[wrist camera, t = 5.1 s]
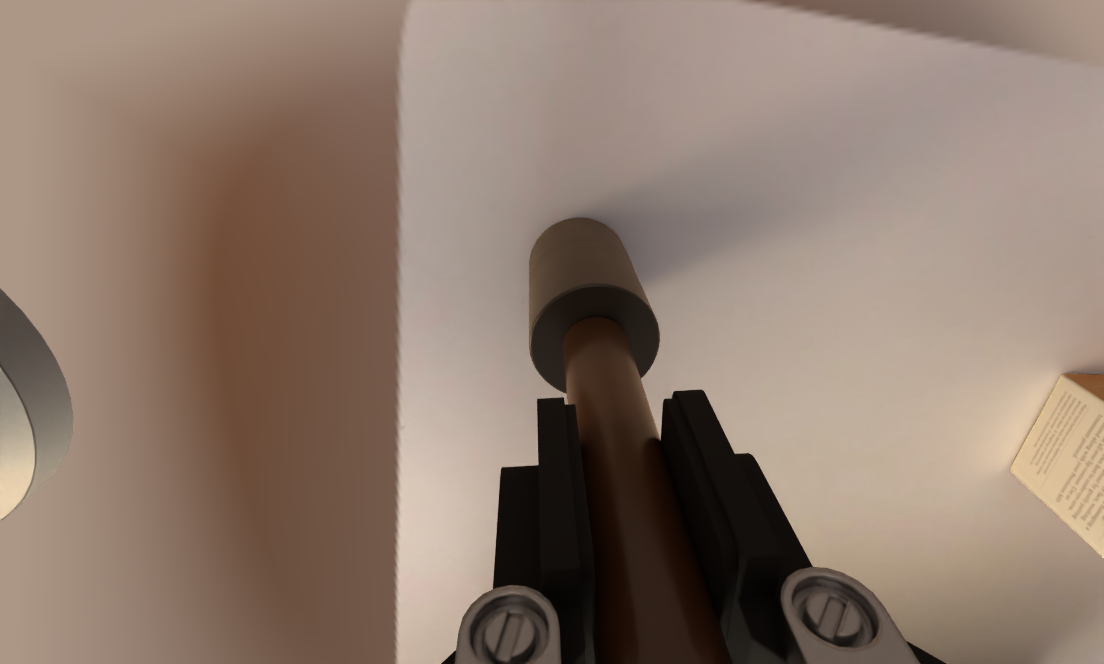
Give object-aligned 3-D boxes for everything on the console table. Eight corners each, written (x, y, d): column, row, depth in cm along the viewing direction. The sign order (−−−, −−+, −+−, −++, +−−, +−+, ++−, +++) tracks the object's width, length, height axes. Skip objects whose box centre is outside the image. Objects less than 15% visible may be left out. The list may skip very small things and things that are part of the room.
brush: (532, 311, 21) (538, 853, 7) (525, 219, 20) (516, 694, 5) (625, 306, 21) (812, 835, 7) (627, 214, 20) (878, 672, 6)
